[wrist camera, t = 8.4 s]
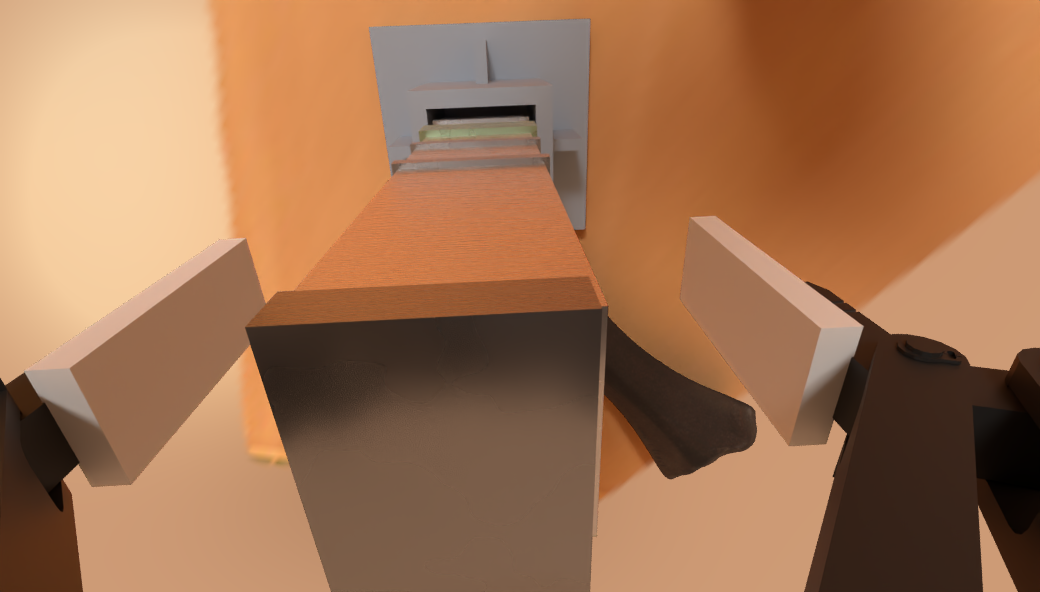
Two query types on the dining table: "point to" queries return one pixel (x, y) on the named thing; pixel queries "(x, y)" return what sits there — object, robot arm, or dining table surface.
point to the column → (447, 376)
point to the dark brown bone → (673, 409)
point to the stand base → (492, 87)
